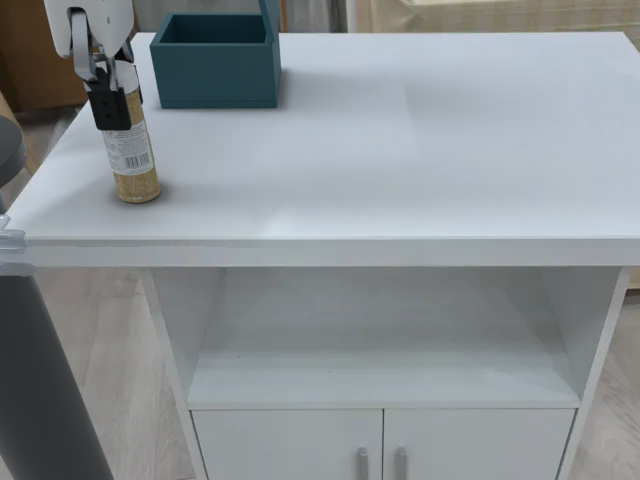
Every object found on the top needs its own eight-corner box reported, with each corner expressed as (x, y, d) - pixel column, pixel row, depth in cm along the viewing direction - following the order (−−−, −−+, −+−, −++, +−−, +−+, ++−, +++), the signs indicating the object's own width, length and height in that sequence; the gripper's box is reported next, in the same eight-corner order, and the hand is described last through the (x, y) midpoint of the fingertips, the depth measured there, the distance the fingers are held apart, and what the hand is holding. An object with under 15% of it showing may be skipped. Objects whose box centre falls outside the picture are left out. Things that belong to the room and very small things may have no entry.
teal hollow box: (161, 108, 88) (148, 45, 82) (177, 70, 97) (167, 12, 92) (276, 108, 89) (272, 45, 83) (281, 70, 98) (277, 12, 93)
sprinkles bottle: (160, 180, 74) (133, 56, 65) (163, 201, 71) (136, 74, 62) (116, 186, 73) (83, 60, 64) (117, 207, 70) (83, 78, 61)
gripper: (53, -119, 60) (103, 83, 72) (-19, -78, 47) (56, 158, 59) (138, -117, 60) (174, 83, 73) (90, -76, 48) (143, 158, 60)
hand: (120, 115), depth 66 cm, fingers closed on sprinkles bottle, 4 cm apart
